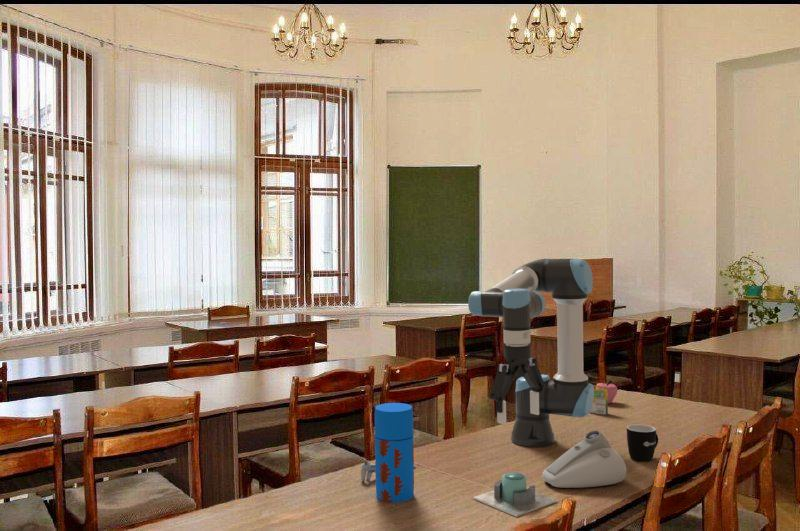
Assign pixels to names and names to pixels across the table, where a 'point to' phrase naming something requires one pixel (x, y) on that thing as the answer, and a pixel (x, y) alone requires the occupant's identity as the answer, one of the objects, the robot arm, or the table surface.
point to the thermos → (394, 452)
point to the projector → (587, 464)
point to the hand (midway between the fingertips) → (518, 418)
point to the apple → (609, 390)
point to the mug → (641, 442)
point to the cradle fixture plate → (515, 500)
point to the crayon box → (600, 401)
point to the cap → (512, 485)
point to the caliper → (369, 468)
